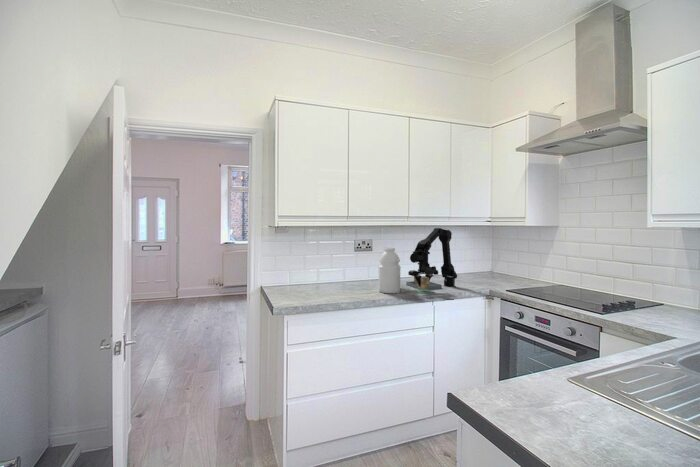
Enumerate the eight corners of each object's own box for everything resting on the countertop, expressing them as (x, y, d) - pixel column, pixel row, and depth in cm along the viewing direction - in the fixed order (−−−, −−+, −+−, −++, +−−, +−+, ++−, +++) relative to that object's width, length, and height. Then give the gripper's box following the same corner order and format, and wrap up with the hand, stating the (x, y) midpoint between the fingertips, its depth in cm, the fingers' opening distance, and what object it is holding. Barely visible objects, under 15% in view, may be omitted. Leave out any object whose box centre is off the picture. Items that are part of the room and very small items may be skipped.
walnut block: (420, 284, 237) (420, 276, 237) (424, 285, 232) (424, 277, 232) (414, 285, 235) (414, 276, 235) (417, 286, 231) (418, 277, 230)
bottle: (404, 291, 214) (405, 248, 213) (389, 294, 205) (389, 248, 205) (389, 288, 225) (389, 246, 224) (373, 291, 216) (374, 247, 216)
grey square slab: (426, 284, 240) (426, 280, 240) (441, 289, 223) (441, 284, 223) (406, 286, 234) (406, 281, 234) (420, 290, 217) (420, 286, 217)
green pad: (425, 290, 218) (425, 289, 218) (434, 293, 209) (434, 291, 209) (412, 291, 215) (412, 290, 215) (420, 294, 205) (420, 293, 205)
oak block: (424, 287, 215) (424, 276, 215) (428, 288, 210) (429, 277, 210) (417, 287, 213) (417, 276, 213) (422, 289, 208) (422, 277, 208)
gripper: (417, 263, 200) (417, 289, 201) (443, 262, 207) (443, 287, 207) (408, 261, 211) (407, 286, 211) (433, 260, 217) (433, 284, 218)
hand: (423, 286), depth 212 cm, fingers closed on oak block, 5 cm apart
